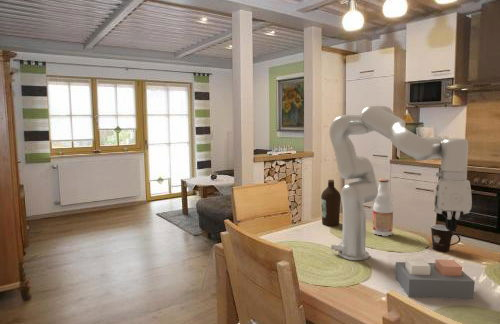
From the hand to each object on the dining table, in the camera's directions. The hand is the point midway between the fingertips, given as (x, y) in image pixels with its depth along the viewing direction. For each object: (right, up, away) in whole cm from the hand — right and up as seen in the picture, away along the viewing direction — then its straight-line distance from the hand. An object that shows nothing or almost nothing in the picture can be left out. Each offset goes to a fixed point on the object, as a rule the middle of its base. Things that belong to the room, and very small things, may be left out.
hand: (450, 230), depth 116 cm
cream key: (-10, -16, +3) cm, 19 cm away
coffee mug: (+18, -16, +37) cm, 44 cm away
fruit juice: (0, -14, +60) cm, 62 cm away
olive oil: (-22, -12, +79) cm, 83 cm away
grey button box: (-5, -20, +3) cm, 21 cm away
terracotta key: (0, -16, +2) cm, 16 cm away
